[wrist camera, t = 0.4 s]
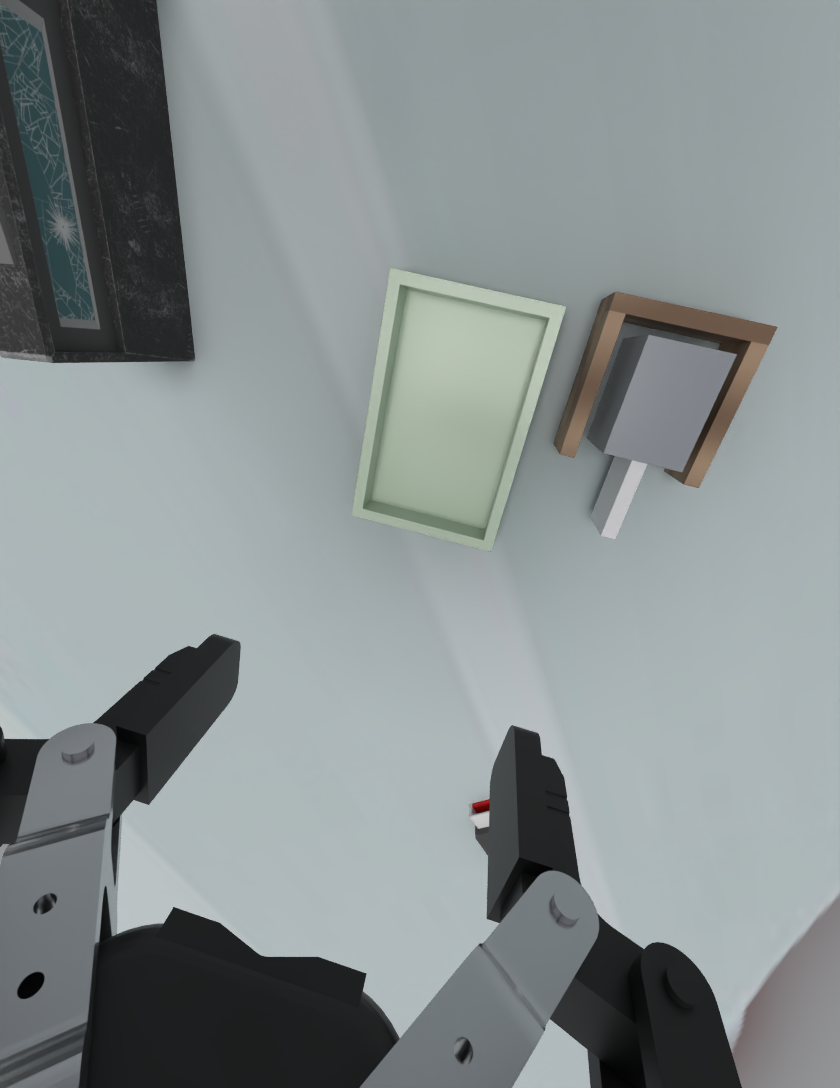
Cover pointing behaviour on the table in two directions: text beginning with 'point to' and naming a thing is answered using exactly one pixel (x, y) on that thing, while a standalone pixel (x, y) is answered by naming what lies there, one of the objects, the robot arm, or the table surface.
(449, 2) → the table surface
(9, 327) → the radio
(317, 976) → the robot arm
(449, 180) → the table surface
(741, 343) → the u-shaped wooden frame
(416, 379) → the tray
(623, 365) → the grey block with stick
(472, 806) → the usb drive
